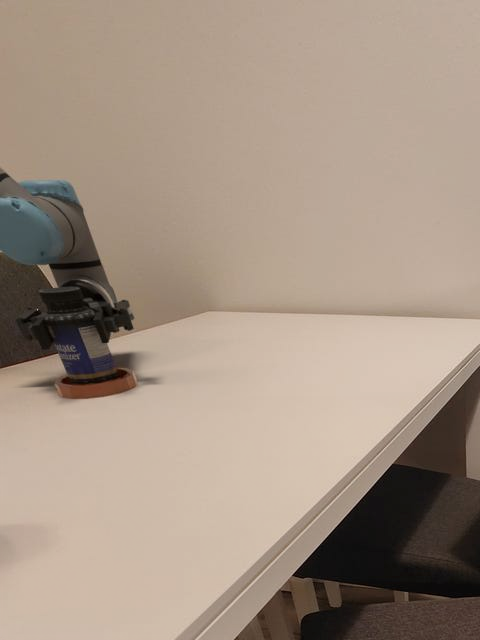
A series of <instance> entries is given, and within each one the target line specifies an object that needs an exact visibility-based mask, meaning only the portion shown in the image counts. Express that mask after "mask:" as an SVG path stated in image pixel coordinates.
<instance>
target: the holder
mask: <svg viewBox="0 0 480 640" xmlns="http://www.w3.org/2000/svg"><path fill="white" fill-rule="evenodd" d="M116 368H117V371H118V373H119V374H118V377H117V378H116V379H114V380H111V381H107V382H102V383H95V384H86V385H78V384H73V383H72V382H71V381H70V380H69V377H68V375H67V374H65V375H62V376H60V377H59V378H56V379H55V381H54V386H55V388H56V390H57V393H58V394H59V396H60V397H62V398H64V399H71V400H84V399H85V400H86V399H87V400H88V399H96V398H104V397H109V396H113V395H118V394H122V393H125V392H128V391H130V390H133V389H134V388H135V387H137V386H139V383H138V380H137V377H136V374H135V372H134V370H133V369H130V368H126V367H116Z"/></svg>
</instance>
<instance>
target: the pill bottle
mask: <svg viewBox="0 0 480 640" xmlns="http://www.w3.org/2000/svg"><path fill="white" fill-rule="evenodd" d="M38 294H39V296H40V299H41V302H42V303H43V304H44V305H46V307H47V310H48V311H47V310H46V312H44V313H45V314H44V321H45V323H46V326H47V328H48V330H49V333H50V335H51V337H52V340H53V345H54V347H55V349H56V351H57V353H58V356H59V358H60V360H61V363H62V365H63V368H64V370H65V372H66V375H68V377H69V380H70V381H71V382H72V383H73V384H78V385H86V384H95V383H102V382H107V381H111V380H114V379H116V378H117V377H118V374H119V373H118V371H117V368H118V367H117V366H116V363H115V360H114V358H113V355H112V352H111V350H110V347H109V345H108V344H109V343H102V341H101V339H100V336H99V334H98V331H97V329H96V326H95V323H94V321H93V319H94V317H95V312H94V311H93V310H91V309H90V308H87V307H85V305H84V303H83V295H82V292H81V290H80V288H79V287H58V286H57V287H49V288H43V289H40V290H38Z"/></svg>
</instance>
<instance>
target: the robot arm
mask: <svg viewBox="0 0 480 640" xmlns="http://www.w3.org/2000/svg"><path fill="white" fill-rule="evenodd" d="M78 197H79V196H77V193H76V191H75V188H74V186H73V185H72V183H70V182H69V181H67V180H65V179H42V180H41V179H39V180H21V181H19V182H18V181H16V180H15V179H14V177H13V178H12V176H11V175H9V174H8V172H7V171H5V169H3V168H2V167H1V166H0V251H1V252H2V253H3V254H4V255H5V256H7V257H8V258H10V259H11V260H13V261H15V262H16V263H19V264H23V265H27V266H47V265H48V267H49V269H50V271H51V274H52V276H53V278H54V279H53V280H54V281H55V284H56V286H57V288H58V287H79V288H80V290H81V292H82V295H83V303H84V305H85V307H87V308H90V309H91V310H93V311H94V312H95V317H94V319H93V321H94V323H95V326H96V329H97V331H98V334H99V336H100V339H101V341H102V343H107V344H109V343H110V340H111V339H110V338H111V334H112V333H113V334H117V333H119V332H120V328H123V329H124V331H129V332H130V331H133V330H134V329H135V328H134V325H133V322H132V321H133V320H135V316H134V313H133V310H132V308H131V307H132V306H131V304H130V301H129V300H127V299H121V300H120V301H118V300H117V296H116V293H115V290H114V288H113V286H112V285H111V284H110V282H109V278H108V276H107V273H106V271H105V268H104V265H103V264H102V259H101V258H100V256H99V255H100V254H99V251H98V249H97V247H96V244H95V241H94V239H93V235H92V233H91V230H90V227H89V223H88V222H87V219H86V216H85V211H84V207H83V206H82V204H81V202H80V200H79V198H78ZM47 311H48V309H47V310H46V312H47ZM46 312H41V309H40V308H34V307H27V308H25V309H24V312H23V313H22V314H19V316H18V317H16V318H15V319H14V321H15V323H16V326H17V328H18V329H19V331H20V334H21V336H22V339H23V340H24V341H28V342H29V341H33V340H34V341H38V343H39V345H40V348H41V350H42V351H44V350H50V348H51V347H52V345H54V342H53V340H52V337H51V335H50V333H49V330H48V328H47V326H46V323H45V321H44V314H45V313H46Z"/></svg>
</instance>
